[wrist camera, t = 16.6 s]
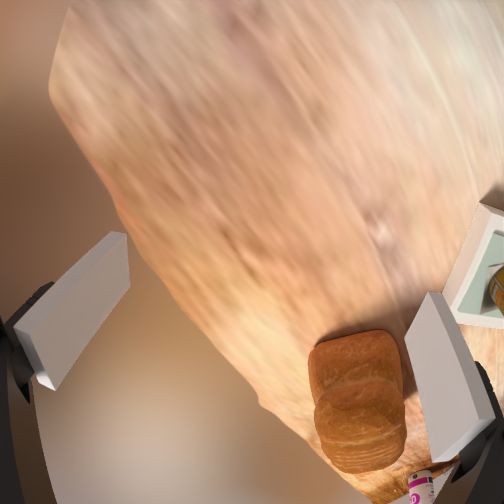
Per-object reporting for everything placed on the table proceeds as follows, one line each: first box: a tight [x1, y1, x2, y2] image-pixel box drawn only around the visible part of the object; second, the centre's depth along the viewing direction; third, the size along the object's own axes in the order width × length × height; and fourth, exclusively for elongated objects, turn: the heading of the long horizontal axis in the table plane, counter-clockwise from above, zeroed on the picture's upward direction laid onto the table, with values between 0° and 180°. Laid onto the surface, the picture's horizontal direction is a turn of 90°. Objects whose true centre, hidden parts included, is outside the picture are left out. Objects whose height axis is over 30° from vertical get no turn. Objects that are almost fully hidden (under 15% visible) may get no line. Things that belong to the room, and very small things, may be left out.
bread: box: [308, 330, 407, 474], centre depth 48 cm, size 16×26×17 cm, turn 21°
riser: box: [442, 202, 504, 329], centre depth 38 cm, size 18×15×5 cm
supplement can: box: [408, 470, 435, 504], centre depth 69 cm, size 8×8×15 cm
